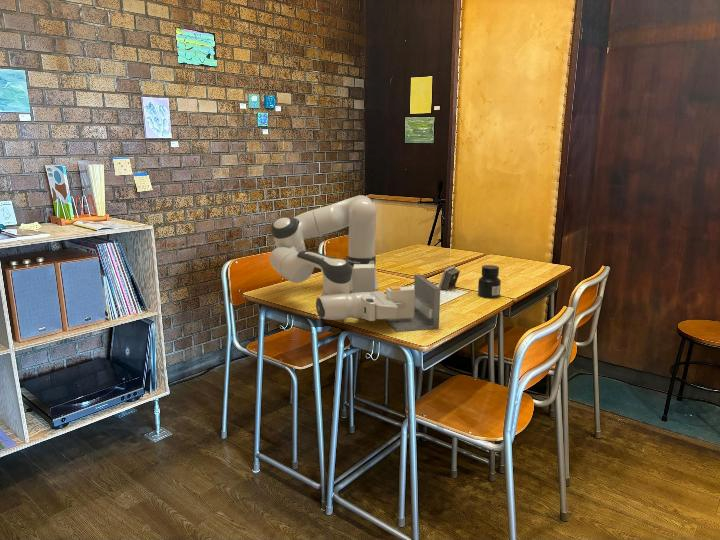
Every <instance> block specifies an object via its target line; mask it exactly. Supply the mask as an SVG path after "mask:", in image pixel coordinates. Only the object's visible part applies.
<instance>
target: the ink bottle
mask: <svg viewBox="0 0 720 540" xmlns="http://www.w3.org/2000/svg"><path fill="white" fill-rule="evenodd" d="M499 273H500V266H498V265H493V264H484V265H482V266H481V276H480V277H479V279H478V284H477V285H478V286H477V287H478V288H477V294H478V296H479V297H482V298H490V299H493V298H494V299H495V298H496V299H497V298H499V297H500V296H501V285H502V284H501V283H502V280H501V279H500V278H499Z"/></svg>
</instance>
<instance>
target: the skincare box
mask: <svg viewBox="0 0 720 540" xmlns="http://www.w3.org/2000/svg"><path fill="white" fill-rule="evenodd" d="M375 268H376V265H375V266H374V264H354V267H353V277H354V292H353V293H358V292H374V291H376V290H375Z"/></svg>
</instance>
